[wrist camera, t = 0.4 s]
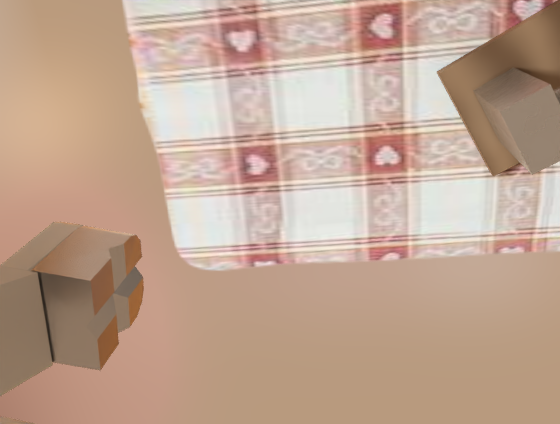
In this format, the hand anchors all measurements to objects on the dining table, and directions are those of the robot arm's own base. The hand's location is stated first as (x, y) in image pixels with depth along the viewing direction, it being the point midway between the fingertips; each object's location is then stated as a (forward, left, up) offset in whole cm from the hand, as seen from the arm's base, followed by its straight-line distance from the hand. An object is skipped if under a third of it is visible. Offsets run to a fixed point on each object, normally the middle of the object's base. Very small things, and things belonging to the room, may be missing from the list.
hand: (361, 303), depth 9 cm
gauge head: (+5, +17, -45) cm, 48 cm away
